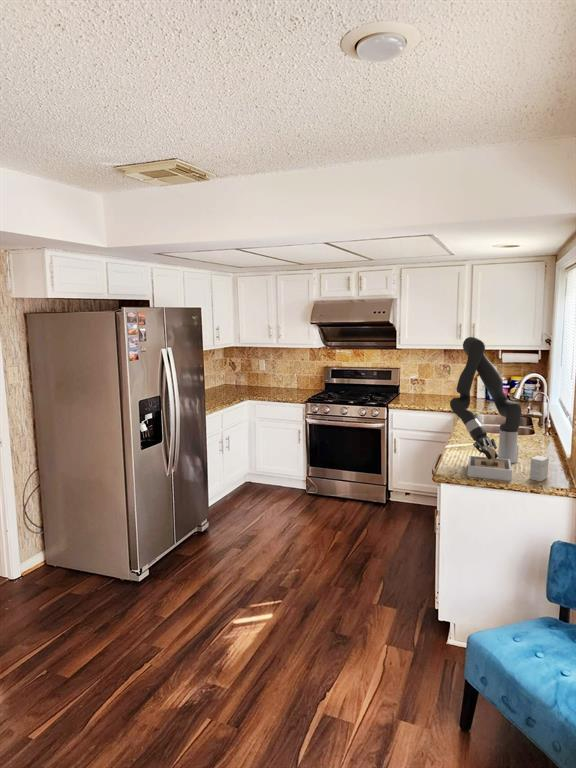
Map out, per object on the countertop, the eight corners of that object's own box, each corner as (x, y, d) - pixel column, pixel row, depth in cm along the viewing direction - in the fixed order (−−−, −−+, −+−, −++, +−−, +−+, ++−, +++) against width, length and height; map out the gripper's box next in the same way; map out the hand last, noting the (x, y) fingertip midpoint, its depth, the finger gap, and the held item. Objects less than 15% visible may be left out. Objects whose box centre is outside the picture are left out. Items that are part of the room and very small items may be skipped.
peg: (489, 464, 265) (490, 447, 263) (495, 466, 261) (496, 449, 260) (483, 465, 263) (485, 448, 262) (490, 467, 259) (491, 449, 258)
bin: (468, 465, 275) (469, 455, 274) (509, 469, 268) (510, 459, 267) (467, 476, 257) (468, 465, 256) (511, 481, 250) (511, 470, 249)
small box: (535, 475, 259) (537, 455, 257) (547, 478, 255) (548, 457, 253) (529, 479, 253) (530, 458, 252) (540, 481, 249) (542, 460, 248)
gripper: (470, 427, 262) (488, 456, 254) (489, 424, 269) (507, 452, 261) (461, 435, 268) (479, 463, 259) (480, 432, 275) (498, 460, 266)
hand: (493, 458), depth 260 cm, fingers closed on peg, 4 cm apart
